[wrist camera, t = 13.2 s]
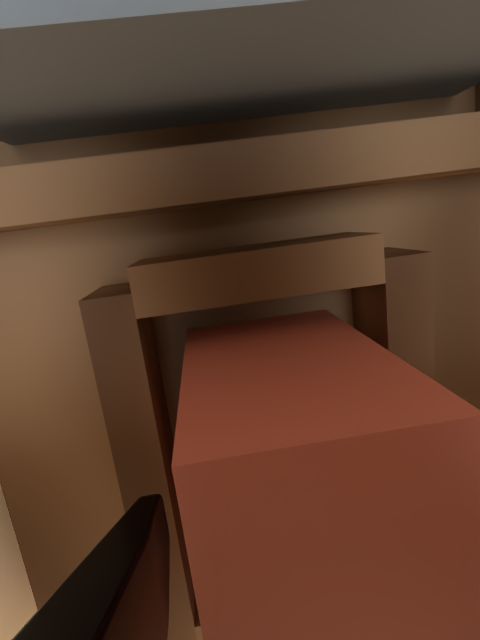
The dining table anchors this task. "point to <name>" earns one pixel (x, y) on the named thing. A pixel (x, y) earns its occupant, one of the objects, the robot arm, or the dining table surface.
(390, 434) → the terracotta rectangular block
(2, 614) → the dining table surface
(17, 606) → the dining table surface
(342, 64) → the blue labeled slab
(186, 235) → the jig
